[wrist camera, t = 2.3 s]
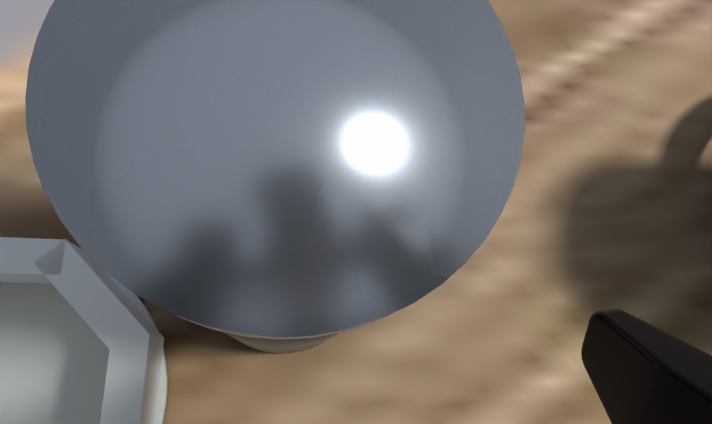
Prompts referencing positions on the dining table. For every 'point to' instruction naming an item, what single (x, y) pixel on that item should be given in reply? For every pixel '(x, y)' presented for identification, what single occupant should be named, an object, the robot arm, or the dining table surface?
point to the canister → (276, 152)
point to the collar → (74, 341)
